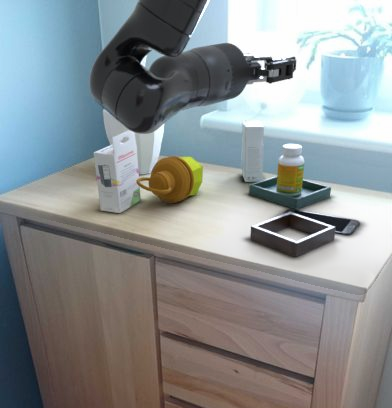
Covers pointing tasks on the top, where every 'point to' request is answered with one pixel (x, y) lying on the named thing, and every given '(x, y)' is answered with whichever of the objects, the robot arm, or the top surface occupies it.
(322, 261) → the top surface
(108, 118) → the vase
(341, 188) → the top surface
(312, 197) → the tray
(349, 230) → the smartphone
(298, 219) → the frame
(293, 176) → the supplement bottle
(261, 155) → the cosmetic box
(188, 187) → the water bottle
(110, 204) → the ink box
